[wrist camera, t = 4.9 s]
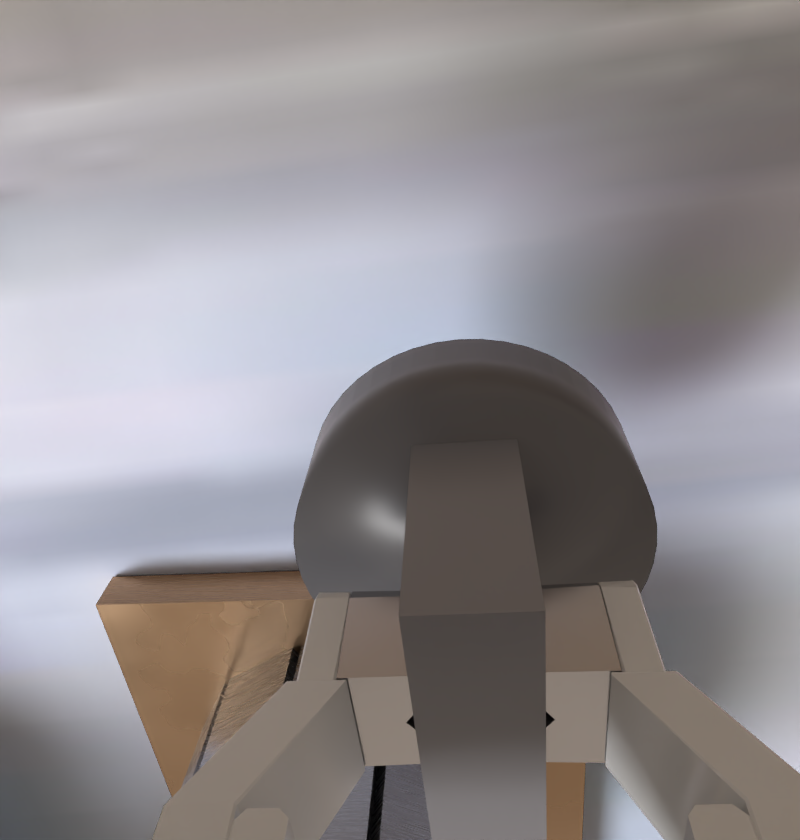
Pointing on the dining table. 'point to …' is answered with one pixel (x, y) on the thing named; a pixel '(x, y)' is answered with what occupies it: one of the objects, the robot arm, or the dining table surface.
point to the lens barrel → (258, 689)
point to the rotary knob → (474, 549)
